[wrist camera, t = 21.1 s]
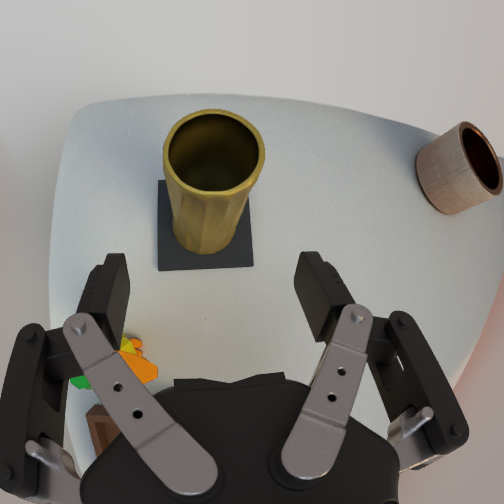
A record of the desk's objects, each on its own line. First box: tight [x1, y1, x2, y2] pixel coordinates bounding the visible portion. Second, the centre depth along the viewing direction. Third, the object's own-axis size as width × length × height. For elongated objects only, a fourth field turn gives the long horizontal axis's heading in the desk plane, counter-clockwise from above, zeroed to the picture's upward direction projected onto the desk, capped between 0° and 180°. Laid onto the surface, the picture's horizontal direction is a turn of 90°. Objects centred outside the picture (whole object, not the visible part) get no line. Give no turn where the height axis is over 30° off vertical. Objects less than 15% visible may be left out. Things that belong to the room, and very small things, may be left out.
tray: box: [86, 404, 121, 458], centre depth 22 cm, size 11×11×3 cm
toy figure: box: [70, 334, 158, 390], centre depth 19 cm, size 7×4×12 cm, turn 88°
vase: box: [163, 109, 265, 254], centre depth 21 cm, size 6×6×14 cm
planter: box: [416, 121, 503, 214], centre depth 31 cm, size 11×11×10 cm
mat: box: [158, 180, 254, 271], centre depth 28 cm, size 9×9×1 cm
